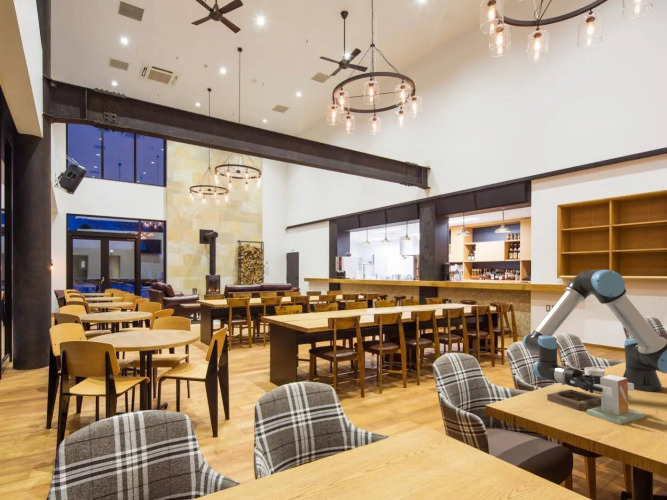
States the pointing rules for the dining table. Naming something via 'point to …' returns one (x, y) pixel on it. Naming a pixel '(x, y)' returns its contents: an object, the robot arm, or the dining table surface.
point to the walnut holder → (563, 396)
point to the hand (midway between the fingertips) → (623, 389)
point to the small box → (615, 395)
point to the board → (617, 419)
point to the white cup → (594, 372)
